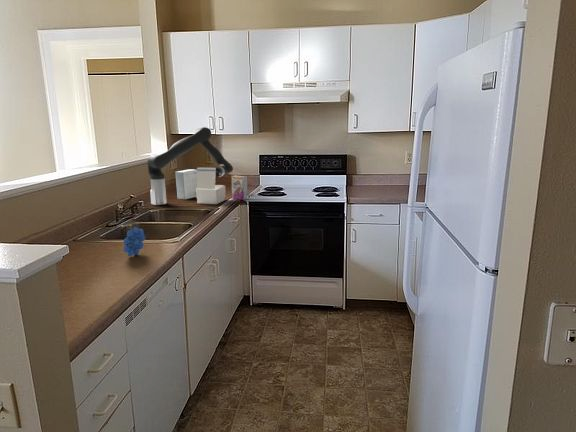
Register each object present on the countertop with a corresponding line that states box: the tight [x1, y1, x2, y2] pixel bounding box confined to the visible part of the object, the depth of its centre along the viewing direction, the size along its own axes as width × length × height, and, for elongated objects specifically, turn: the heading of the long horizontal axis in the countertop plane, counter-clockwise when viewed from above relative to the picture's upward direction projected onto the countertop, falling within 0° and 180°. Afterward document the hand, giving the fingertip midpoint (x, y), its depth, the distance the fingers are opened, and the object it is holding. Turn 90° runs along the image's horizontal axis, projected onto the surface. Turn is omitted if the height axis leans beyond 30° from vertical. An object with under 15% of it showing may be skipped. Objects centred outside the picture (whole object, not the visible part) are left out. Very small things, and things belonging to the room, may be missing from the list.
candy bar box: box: [230, 175, 249, 201], centre depth 300 cm, size 11×5×16 cm, turn 57°
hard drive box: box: [174, 168, 197, 200], centre depth 306 cm, size 16×8×20 cm, turn 149°
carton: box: [195, 184, 226, 205], centre depth 292 cm, size 17×16×10 cm
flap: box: [196, 166, 216, 189], centre depth 281 cm, size 1×13×14 cm, turn 79°
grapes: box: [123, 226, 146, 257], centre depth 177 cm, size 12×7×12 cm, turn 154°
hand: (208, 175), depth 285 cm, fingers closed
